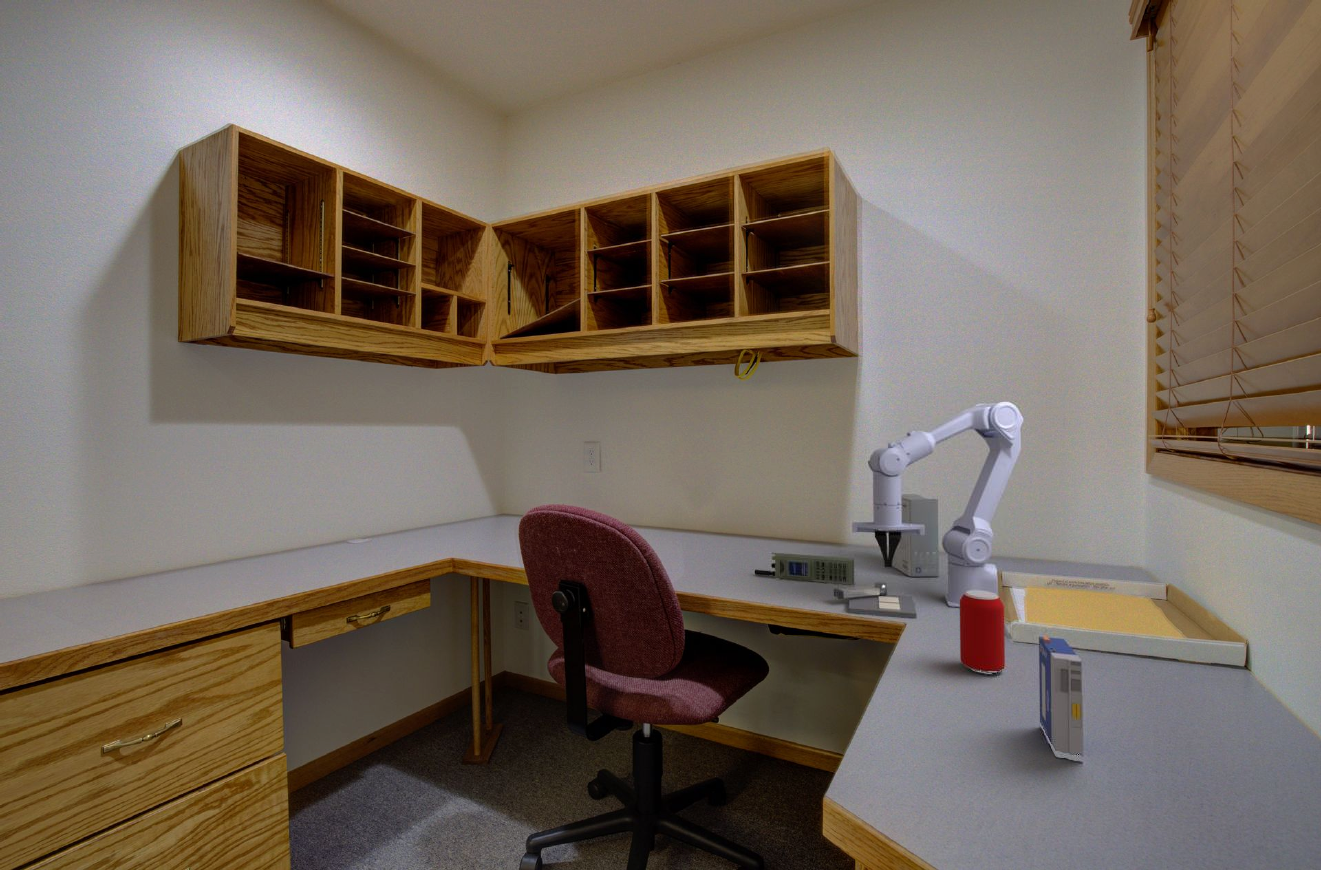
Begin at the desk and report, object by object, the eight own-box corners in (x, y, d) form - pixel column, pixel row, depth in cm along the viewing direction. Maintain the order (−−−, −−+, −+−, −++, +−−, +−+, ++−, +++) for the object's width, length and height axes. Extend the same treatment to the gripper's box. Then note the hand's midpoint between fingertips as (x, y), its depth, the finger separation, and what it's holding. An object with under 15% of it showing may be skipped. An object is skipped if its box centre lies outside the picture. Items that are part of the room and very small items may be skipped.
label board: (912, 600, 132) (912, 594, 132) (916, 618, 120) (916, 612, 120) (850, 596, 137) (850, 590, 137) (848, 613, 124) (848, 606, 124)
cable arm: (889, 595, 132) (889, 584, 132) (839, 599, 129) (839, 589, 129) (882, 592, 135) (882, 581, 135) (833, 596, 132) (833, 586, 132)
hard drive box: (940, 577, 152) (939, 499, 152) (909, 578, 152) (908, 499, 152) (915, 563, 168) (914, 492, 167) (887, 564, 168) (886, 493, 168)
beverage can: (1004, 680, 91) (1003, 601, 90) (958, 672, 94) (957, 596, 94) (1005, 666, 96) (1004, 591, 96) (962, 659, 99) (961, 586, 99)
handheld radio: (853, 587, 145) (752, 578, 156) (854, 584, 148) (756, 575, 159) (852, 559, 145) (752, 552, 156) (854, 557, 148) (756, 550, 159)
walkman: (1039, 727, 76) (1038, 633, 76) (1065, 730, 75) (1064, 636, 75) (1055, 759, 69) (1054, 655, 69) (1083, 763, 68) (1082, 658, 68)
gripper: (922, 502, 130) (923, 564, 131) (852, 500, 135) (853, 560, 135) (925, 506, 124) (925, 571, 124) (851, 504, 129) (852, 567, 129)
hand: (888, 566), depth 129 cm, fingers closed
